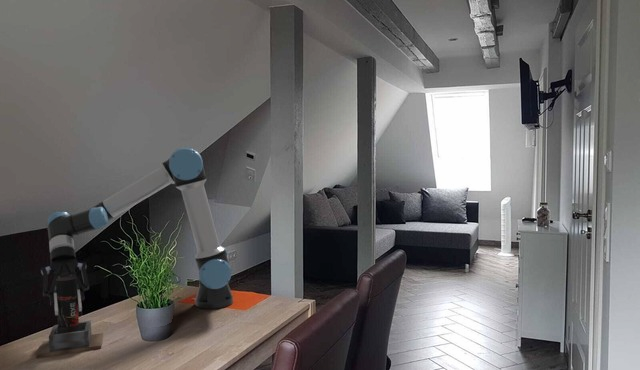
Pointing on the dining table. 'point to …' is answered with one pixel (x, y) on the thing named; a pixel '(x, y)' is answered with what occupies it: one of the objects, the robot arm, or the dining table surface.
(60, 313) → the deodorant
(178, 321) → the dining table surface
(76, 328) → the holder
